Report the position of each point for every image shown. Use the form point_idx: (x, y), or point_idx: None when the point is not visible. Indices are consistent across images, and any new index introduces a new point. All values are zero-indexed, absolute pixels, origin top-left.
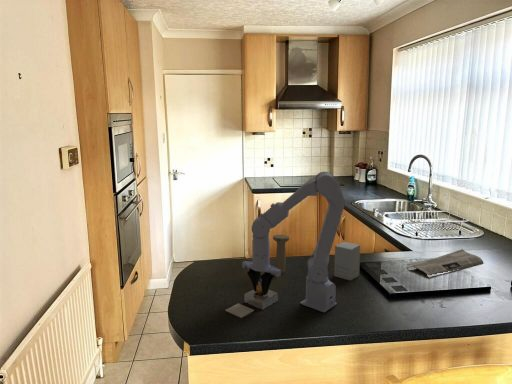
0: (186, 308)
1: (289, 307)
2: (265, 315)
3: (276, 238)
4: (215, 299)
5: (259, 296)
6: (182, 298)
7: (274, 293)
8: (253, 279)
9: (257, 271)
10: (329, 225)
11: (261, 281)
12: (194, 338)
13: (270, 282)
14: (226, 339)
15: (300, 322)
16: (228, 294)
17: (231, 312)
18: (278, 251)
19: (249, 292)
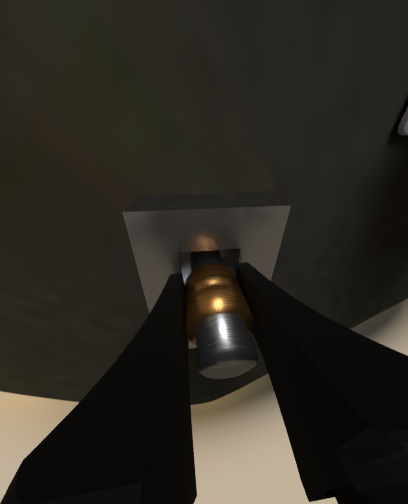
0: (84, 387)
1: (339, 203)
2: None
3: None
4: (68, 337)
5: None
6: (7, 381)
7: (275, 226)
8: (187, 405)
9: (179, 498)
10: None
11: (247, 368)
12: (207, 399)
13: (301, 305)
14: (253, 379)
15: (396, 260)
16: (46, 293)
17: (189, 348)
18: None
19: (154, 302)
